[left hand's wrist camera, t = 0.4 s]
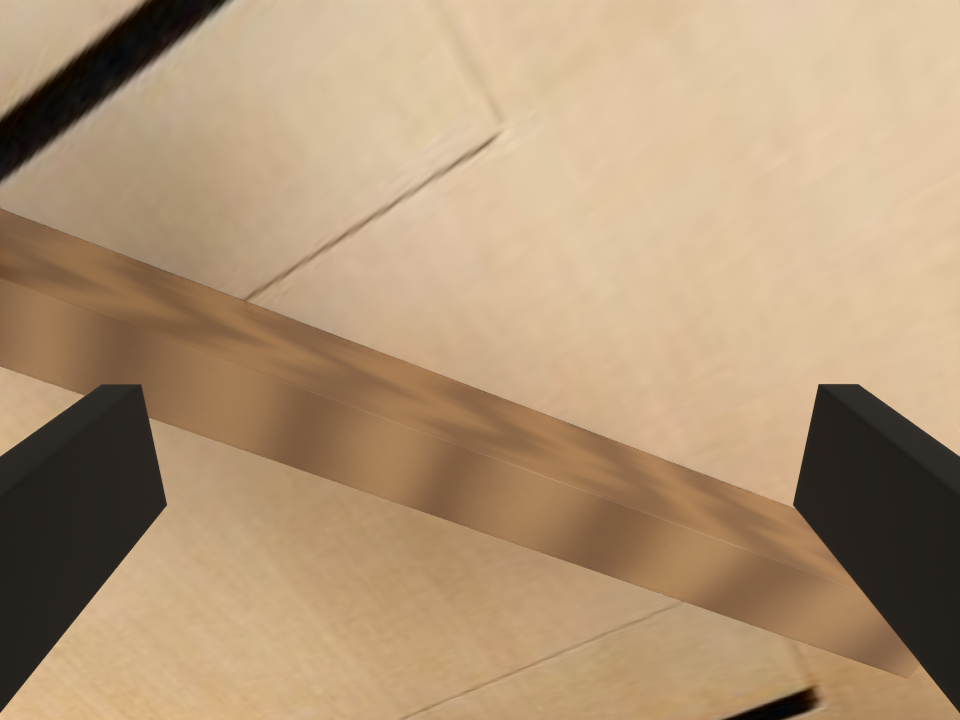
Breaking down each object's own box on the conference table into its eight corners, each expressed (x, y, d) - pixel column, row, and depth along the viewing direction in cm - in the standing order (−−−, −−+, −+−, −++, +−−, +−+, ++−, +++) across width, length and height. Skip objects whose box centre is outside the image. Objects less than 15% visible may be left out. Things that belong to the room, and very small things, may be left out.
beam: (-331, 164, 37) (-548, 178, 29) (-335, 81, 35) (-566, 73, 27) (838, 587, 48) (907, 678, 40) (875, 539, 46) (955, 624, 38)
